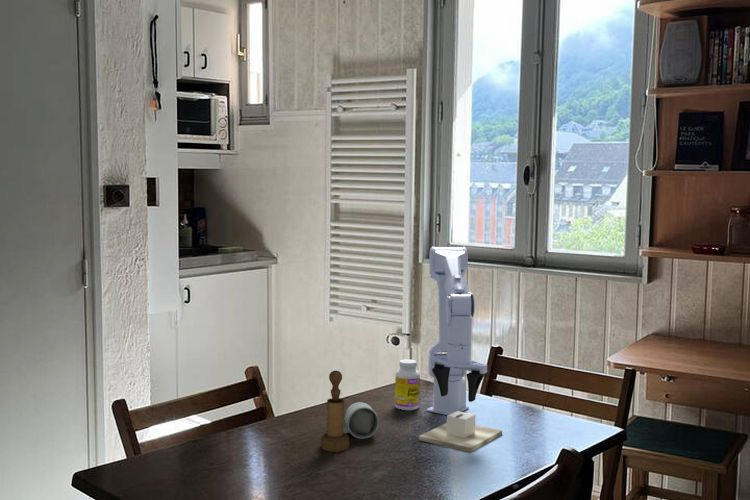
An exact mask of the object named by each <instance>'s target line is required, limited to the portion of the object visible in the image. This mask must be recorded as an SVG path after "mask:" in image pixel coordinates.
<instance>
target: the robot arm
mask: <svg viewBox="0 0 750 500" xmlns="http://www.w3.org/2000/svg"><path fill="white" fill-rule="evenodd" d="M428 257H429V259H428V260H429V274H430V275H429V276H430V278H431V279H433V280H434V281H436V284H437V288H438V290H437V291H438V341H437V342H436V343H435V344H433V345H432V346H430V349H429V351H428V362H427V363H428V366H427V367H428V374H429V376H430V377H431V378H433V390H432V391H433V395H432V396H433V398H432V399H433V400H432V401H433V402H432V406H431V407H427V408H426V411H427V412H431V413H436V414H441V415H445V416H448V415H450V414H452V413H454V412H456V411H460V412H464V411H466V410H468V409H469V408H470V406H468V405H467V399H468V402H469V403H472V402H475V401H476V398H477V393H478V390H479V387H480V385H481V383H482V381H483V379H484V377H485V376H486V374H487V373H488V364H486V363H485V364H484V363H481V362H478V361H474V360H472V358H471V357H472V323H473V322H472V318H474V315H475V311H476V310H475V309H476V302H475V297H474V293H473V292H471V291H470V290H469V285H468V282H467V281H468V280H467V279H466V278H465V277H464V276H465V274H466V270H467V268H468V264H469V259H468V258H469V256H468V249H467V247H466V246H461V247H460V246H459V247H458V246H457V247H455V246H454V247H453V246H450V247H449V246H448V247H447V246H431V247H430V248H429V255H428ZM467 372H468V373H467ZM465 376H466V380H467V383H466V380H465V379H464V378H465ZM467 386H468V387H467ZM467 388H468V390H467ZM467 391H468V393H467ZM467 394H468V395H467Z"/></svg>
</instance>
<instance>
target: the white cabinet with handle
mask: <svg viewBox="0 0 750 500" xmlns="http://www.w3.org/2000/svg"><path fill="white" fill-rule="evenodd" d="M446 423H447V434H449V435H454V436H458V437H463V438H466V437H468V436H470V435H472V434H474V433H475V425H476V414H474V413H469V412H466V411H465V412H464V411H462V412H460V411H456V412H454V413H452V414H450V415H446Z"/></svg>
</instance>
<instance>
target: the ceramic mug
mask: <svg viewBox="0 0 750 500" xmlns="http://www.w3.org/2000/svg"><path fill="white" fill-rule="evenodd" d="M379 421H380V420H379V415H378V414H377V412H376V411H375V410H374V409H373V407H372V406H371V405H370V404H367V403H366V402H362V401H358V402H354V403H352V404H350V405H349V406H348V407H347V409H346V412H345V413H344V431H343V433H345V434H346V435H347V434H349V433H350V434H351V435H352V436H353V437H354V438H356V439H360V440H364V439H365V440H366V439H368V438H371V437H373V436H374V434H376V432H377V431H378V429H379V423H380V422H379Z"/></svg>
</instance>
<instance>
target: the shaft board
mask: <svg viewBox="0 0 750 500" xmlns="http://www.w3.org/2000/svg"><path fill="white" fill-rule="evenodd" d="M502 435H503V430H502V429H498V428H492V427H487V426H483V425H478V424H475V433H474V434H472V435H470V436H468V437H466V438H463V437H458V436H454V435H449V434H447V422H445V423H443V424H442V425H439V426H437V427H435V428H433V429H431V430H429V431H427V432H425V433H422V434H420V435H419V436H418V440H419V441H422V442H425V443H430V444H434V445H439V446H443V447H447V448H451V449H456V450H460V451H464V452H469V453H472V452H474V451H475V450H477V449H479V448H480V447H483V446H485V445H486V444H488V443H489V442H491V441H493V440H495V439H496V438H498V437H500V436H502Z"/></svg>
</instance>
